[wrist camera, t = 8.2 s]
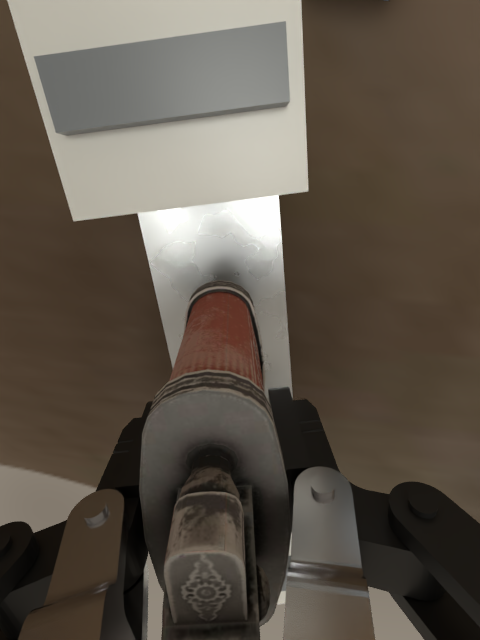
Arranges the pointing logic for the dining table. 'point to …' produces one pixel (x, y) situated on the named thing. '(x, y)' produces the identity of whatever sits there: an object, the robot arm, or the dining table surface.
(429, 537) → the robot arm
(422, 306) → the dining table surface
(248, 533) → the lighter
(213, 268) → the rail
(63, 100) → the mounted modules
